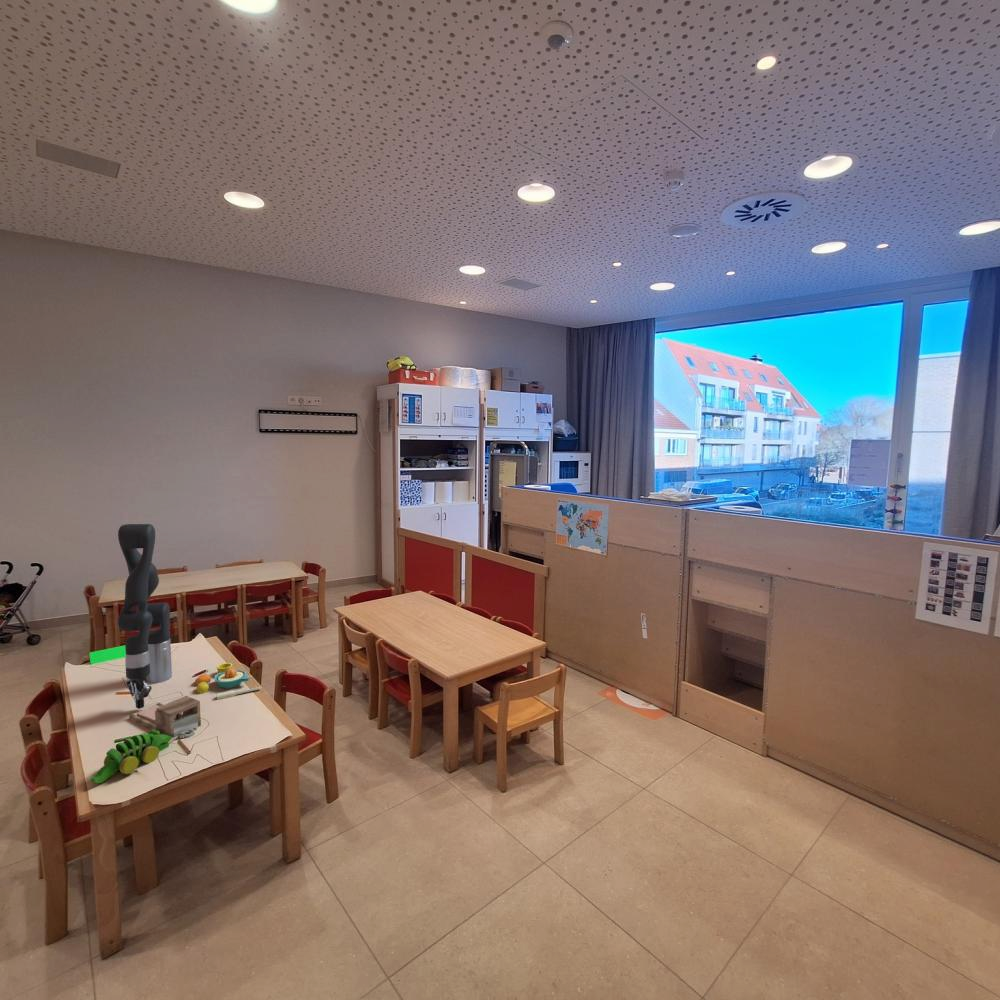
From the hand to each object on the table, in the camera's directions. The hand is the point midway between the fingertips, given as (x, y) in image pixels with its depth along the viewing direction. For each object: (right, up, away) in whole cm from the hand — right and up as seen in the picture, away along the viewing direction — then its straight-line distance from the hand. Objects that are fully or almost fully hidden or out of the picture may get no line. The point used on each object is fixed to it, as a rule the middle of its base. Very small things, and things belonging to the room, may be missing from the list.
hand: (140, 707), depth 197 cm
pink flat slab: (+10, -3, -5) cm, 11 cm away
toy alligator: (+21, -5, -27) cm, 35 cm away
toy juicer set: (+21, -1, +20) cm, 29 cm away
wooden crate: (+14, -3, -7) cm, 16 cm away
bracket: (-42, +2, +45) cm, 61 cm away
